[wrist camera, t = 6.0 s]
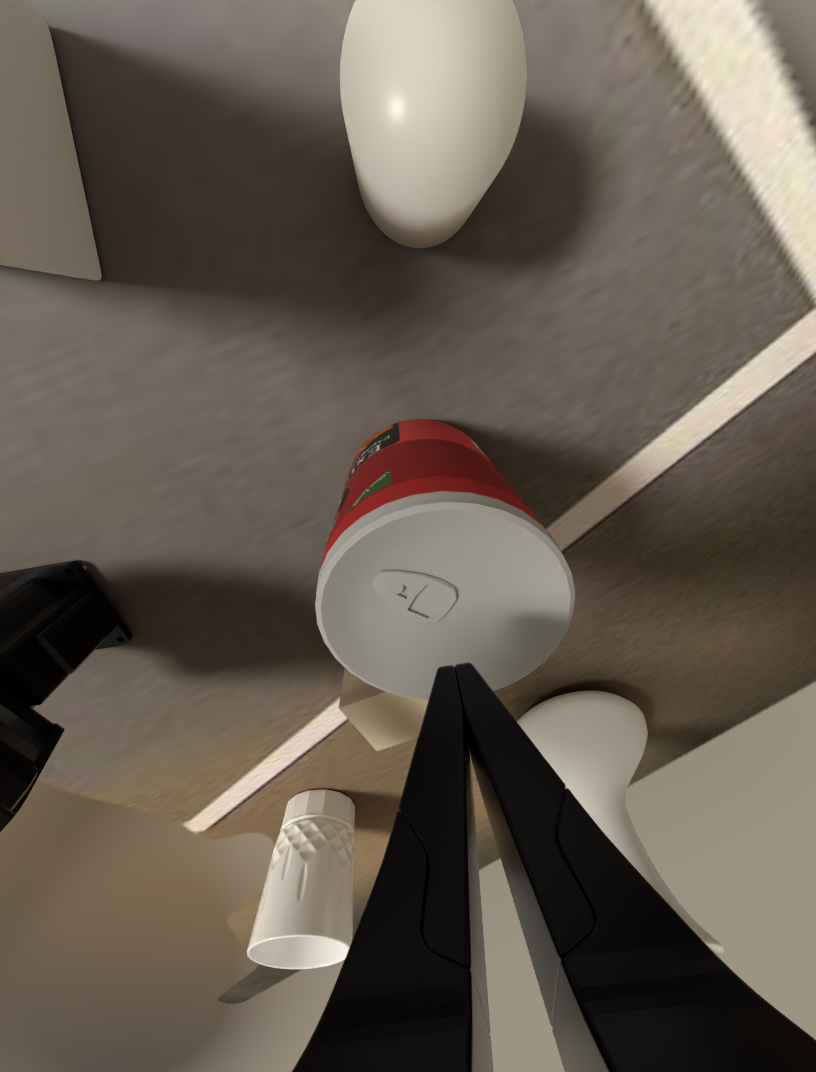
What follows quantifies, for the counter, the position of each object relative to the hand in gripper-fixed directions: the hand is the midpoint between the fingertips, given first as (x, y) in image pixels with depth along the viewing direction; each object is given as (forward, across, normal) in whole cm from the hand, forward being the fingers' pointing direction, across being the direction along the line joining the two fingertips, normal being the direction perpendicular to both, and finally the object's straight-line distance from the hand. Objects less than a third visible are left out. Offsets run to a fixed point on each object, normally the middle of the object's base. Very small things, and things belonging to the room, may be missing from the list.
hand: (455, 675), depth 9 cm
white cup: (+13, +15, +32) cm, 38 cm away
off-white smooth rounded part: (+13, -2, -13) cm, 19 cm away
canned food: (+13, 0, 0) cm, 13 cm away
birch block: (+13, +4, +13) cm, 19 cm away
